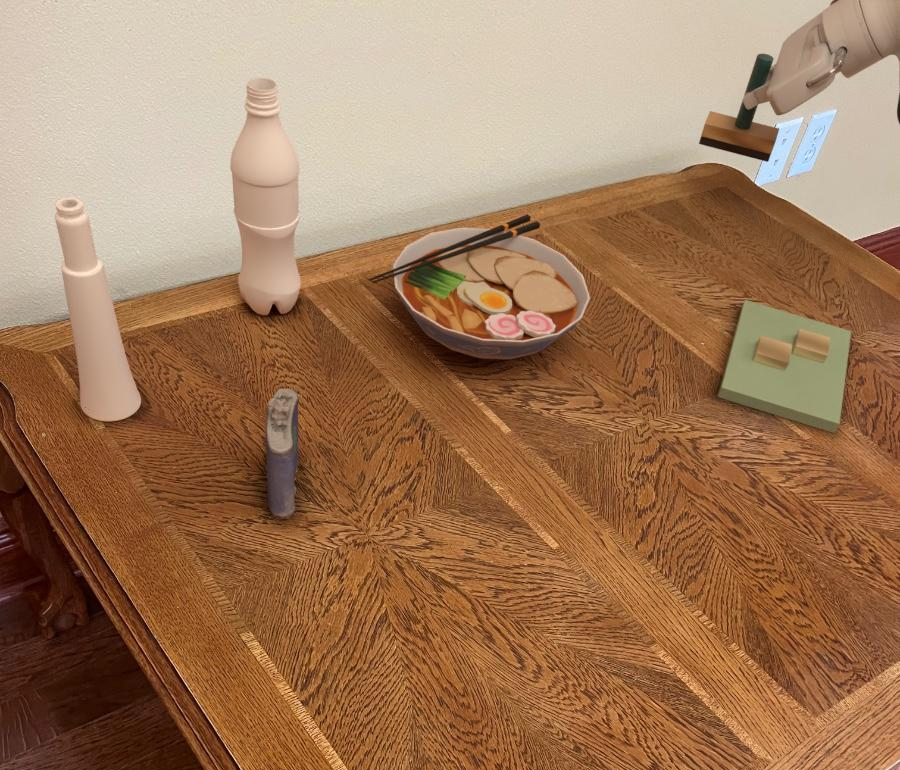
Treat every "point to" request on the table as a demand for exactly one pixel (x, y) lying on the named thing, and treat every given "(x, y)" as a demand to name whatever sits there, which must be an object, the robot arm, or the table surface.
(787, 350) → the cracker
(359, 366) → the table surface
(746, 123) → the brush
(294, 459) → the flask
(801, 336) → the cracker
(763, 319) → the green rectangular board
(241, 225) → the water bottle
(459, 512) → the table surface
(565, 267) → the ramen bowl
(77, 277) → the cosmetic bottle
